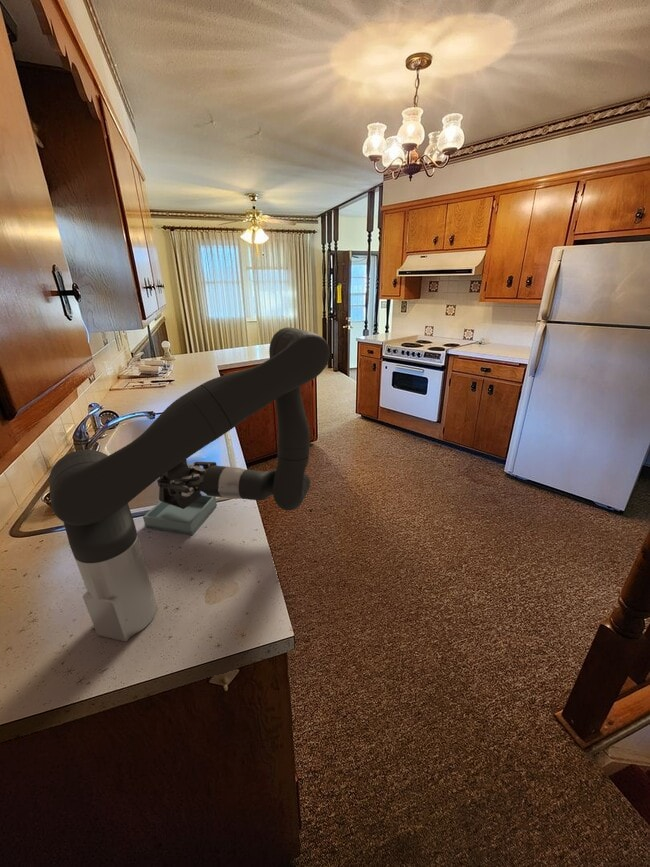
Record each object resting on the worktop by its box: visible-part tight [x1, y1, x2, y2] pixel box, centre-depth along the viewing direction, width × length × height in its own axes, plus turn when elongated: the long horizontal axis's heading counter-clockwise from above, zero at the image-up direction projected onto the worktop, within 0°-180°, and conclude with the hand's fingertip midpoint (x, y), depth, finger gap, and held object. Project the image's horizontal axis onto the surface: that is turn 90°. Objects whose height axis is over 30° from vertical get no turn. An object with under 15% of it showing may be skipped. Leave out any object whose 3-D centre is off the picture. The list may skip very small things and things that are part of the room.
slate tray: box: [142, 493, 218, 536], centre depth 92 cm, size 12×13×4 cm
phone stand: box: [158, 459, 202, 509], centre depth 88 cm, size 9×6×12 cm, turn 63°
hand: (167, 475), depth 88 cm, fingers closed on phone stand, 6 cm apart
